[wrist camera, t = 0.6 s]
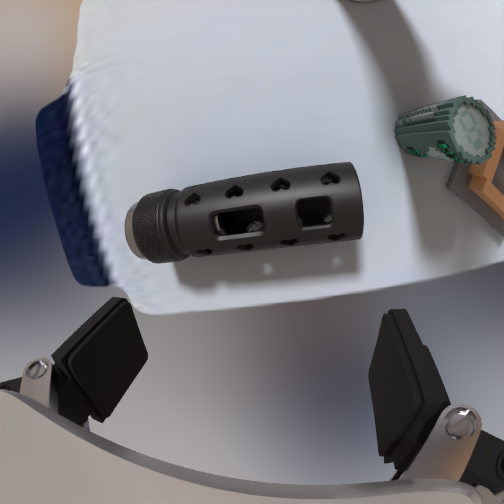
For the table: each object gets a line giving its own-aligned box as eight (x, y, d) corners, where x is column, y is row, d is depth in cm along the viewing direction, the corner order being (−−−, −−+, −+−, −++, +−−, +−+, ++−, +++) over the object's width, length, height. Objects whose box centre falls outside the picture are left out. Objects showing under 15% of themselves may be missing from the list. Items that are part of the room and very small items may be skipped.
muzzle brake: (350, 226, 36) (366, 254, 26) (168, 248, 42) (134, 276, 33) (343, 157, 33) (359, 161, 23) (153, 190, 39) (113, 205, 30)
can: (408, 162, 31) (466, 173, 17) (387, 123, 30) (437, 110, 16) (439, 144, 29) (503, 148, 15) (419, 105, 28) (477, 89, 14)
